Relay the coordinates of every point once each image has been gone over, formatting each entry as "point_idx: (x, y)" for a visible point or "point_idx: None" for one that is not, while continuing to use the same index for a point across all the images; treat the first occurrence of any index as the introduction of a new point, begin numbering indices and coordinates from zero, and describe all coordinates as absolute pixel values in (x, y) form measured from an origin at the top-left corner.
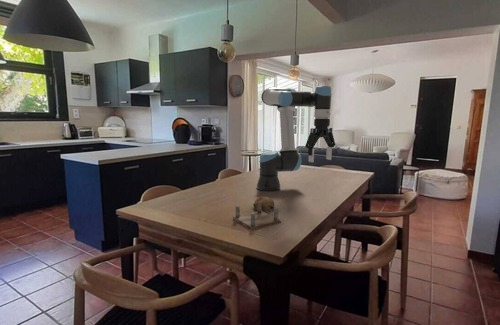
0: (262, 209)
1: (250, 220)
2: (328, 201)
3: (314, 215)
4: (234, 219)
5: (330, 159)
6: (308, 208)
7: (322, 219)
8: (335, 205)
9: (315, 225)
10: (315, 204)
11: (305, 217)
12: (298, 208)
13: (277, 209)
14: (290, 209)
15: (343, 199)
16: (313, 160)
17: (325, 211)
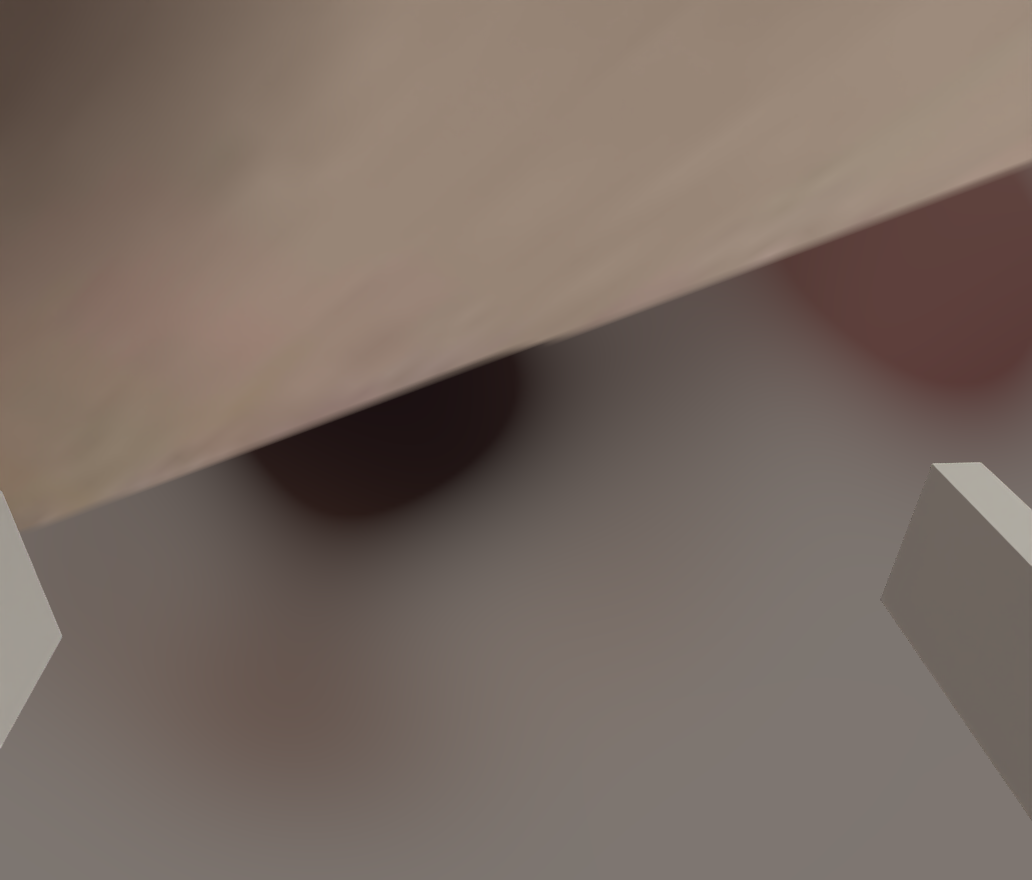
0: None
1: None
2: (701, 142)
3: (166, 377)
4: None
5: (891, 608)
6: (261, 183)
7: (166, 479)
8: (618, 296)
9: None
10: (460, 123)
11: (37, 366)
12: (139, 101)
13: None
14: (6, 62)
15: (912, 204)
16: (22, 683)
17: (359, 361)
